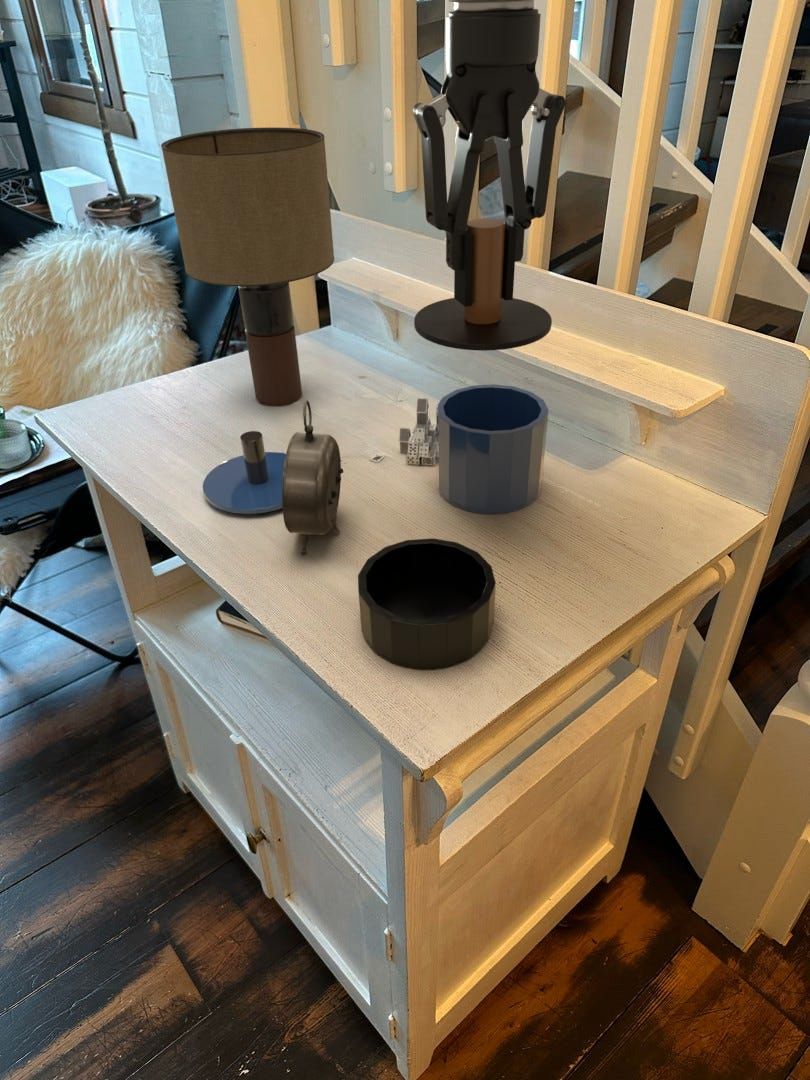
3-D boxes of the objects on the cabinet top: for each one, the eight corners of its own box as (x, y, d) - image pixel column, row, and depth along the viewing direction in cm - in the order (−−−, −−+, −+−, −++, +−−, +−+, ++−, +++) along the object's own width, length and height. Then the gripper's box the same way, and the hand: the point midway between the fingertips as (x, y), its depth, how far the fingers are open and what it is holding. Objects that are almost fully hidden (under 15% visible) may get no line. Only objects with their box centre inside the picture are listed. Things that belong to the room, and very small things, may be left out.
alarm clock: (306, 505, 91) (291, 378, 81) (351, 506, 90) (340, 379, 81) (286, 561, 82) (266, 426, 72) (335, 562, 81) (322, 428, 72)
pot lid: (337, 482, 95) (332, 431, 90) (252, 531, 87) (242, 478, 82) (265, 449, 102) (258, 400, 98) (182, 492, 94) (169, 440, 90)
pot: (560, 481, 93) (568, 403, 87) (501, 526, 86) (505, 445, 80) (477, 449, 100) (480, 375, 94) (416, 489, 93) (414, 412, 87)
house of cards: (383, 429, 106) (380, 378, 101) (445, 433, 104) (445, 382, 100) (368, 462, 98) (365, 408, 94) (434, 467, 97) (434, 412, 93)
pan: (517, 616, 74) (521, 572, 70) (436, 691, 66) (436, 645, 63) (418, 566, 81) (418, 523, 77) (334, 629, 73) (329, 585, 70)
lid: (576, 324, 76) (588, 217, 70) (499, 368, 68) (505, 252, 62) (468, 297, 84) (470, 199, 78) (386, 335, 76) (381, 228, 69)
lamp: (306, 359, 127) (280, 122, 106) (369, 401, 113) (353, 139, 92) (191, 390, 118) (139, 139, 97) (245, 440, 104) (196, 160, 84)
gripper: (563, 1, 65) (541, 276, 79) (379, 9, 61) (390, 298, 75) (610, 2, 59) (578, 298, 73) (411, 11, 55) (416, 324, 69)
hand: (483, 298), depth 74 cm, fingers closed on lid, 4 cm apart
